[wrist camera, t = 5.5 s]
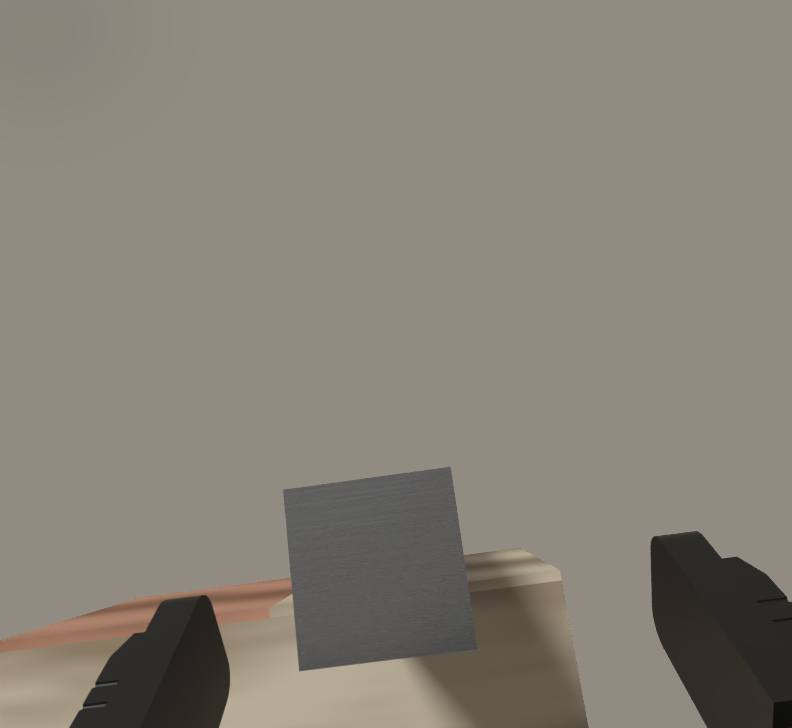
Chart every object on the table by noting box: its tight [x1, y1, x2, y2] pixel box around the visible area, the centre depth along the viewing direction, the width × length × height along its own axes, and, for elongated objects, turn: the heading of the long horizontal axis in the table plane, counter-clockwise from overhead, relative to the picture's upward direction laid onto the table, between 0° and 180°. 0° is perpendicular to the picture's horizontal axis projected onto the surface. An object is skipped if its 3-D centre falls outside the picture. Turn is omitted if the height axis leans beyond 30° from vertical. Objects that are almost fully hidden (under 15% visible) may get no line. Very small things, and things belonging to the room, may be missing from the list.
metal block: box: [283, 467, 478, 671], centre depth 21 cm, size 22×3×3 cm, turn 176°
